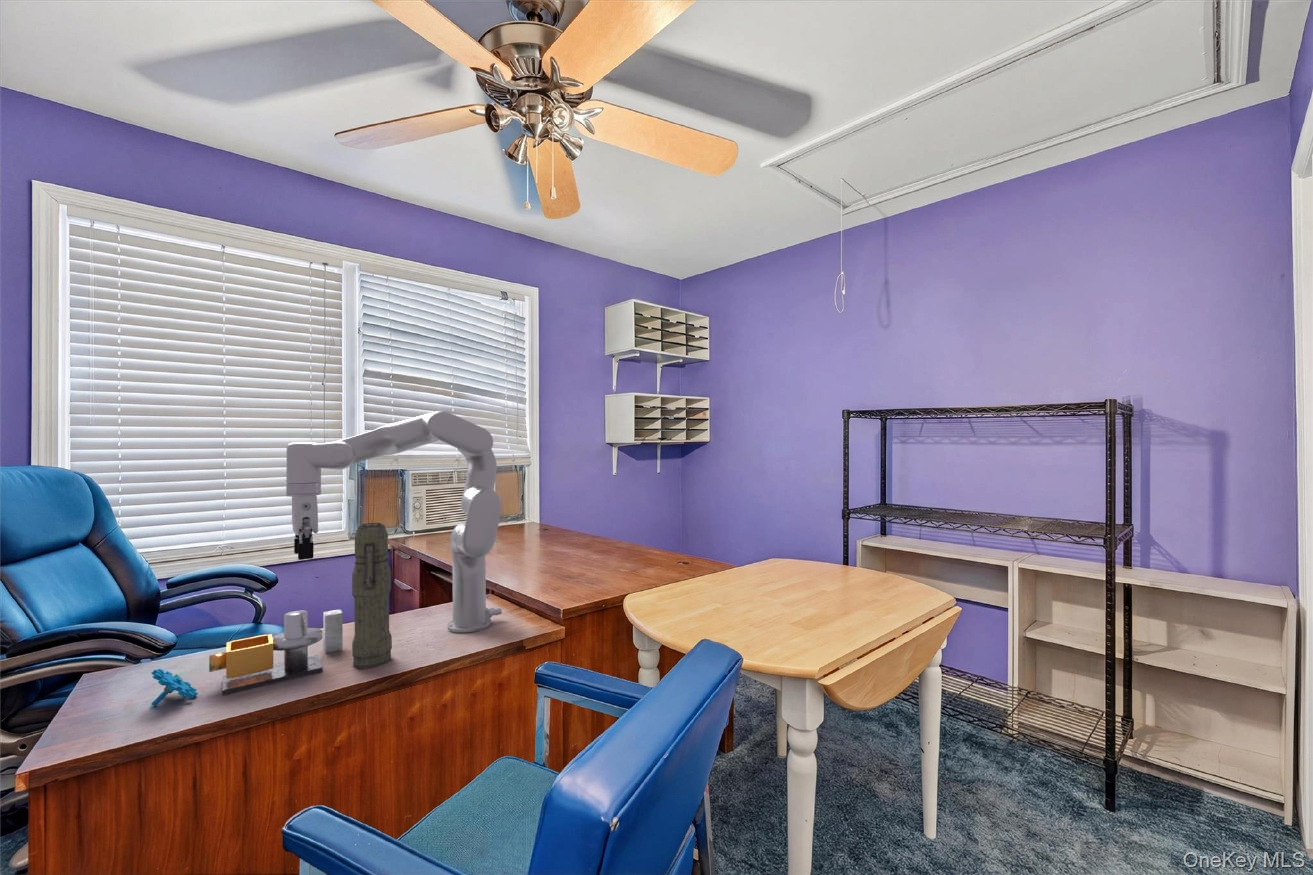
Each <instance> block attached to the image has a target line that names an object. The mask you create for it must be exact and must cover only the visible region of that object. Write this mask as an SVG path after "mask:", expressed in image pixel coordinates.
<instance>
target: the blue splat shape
mask: <svg viewBox="0 0 1313 875" xmlns="http://www.w3.org/2000/svg"><path fill="white" fill-rule="evenodd" d="M150 673H151V675H152V678H153V679H154V680H157V683H158V684H159V685H160V686H165V687H164V688H163V691H162V692H161V693H160V694H159V695H158V697H156V698H155V699H154V700H153V701H152V703H150V705H151V706H153V707H157V705H159V703H160V702H161V701H163V699H165V698H166V697H167V696H168V695H169V694H172V693H173V692H174V691H176V692H177V695H179V696H181V697H184V696H185V697H187V698H188V699H193V698H196V697H197V695H198V694H199V692H197V688H195V687H193V686H192V684H191V683H190V682H188V681H184V679H183V678H182V677H181V675H180V674H177V673H176V674H174V676H173V673H172V672H171V671H168V670H167V671H166V672H165V670H164V669H162V668H158V669H154V670H153V671H152V672H150Z"/></svg>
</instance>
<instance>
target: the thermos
mask: <svg viewBox="0 0 1313 875" xmlns="http://www.w3.org/2000/svg"><path fill="white" fill-rule="evenodd" d="M388 554H389V534H388V531H387V528H386V525H385V524H382V523H380V522H370V523H363V524H361V525H358V526H357V529H356V532H355V535H354V557H355V561H354V567H353V570H352V574H351V582H352V583H351V586H352V587H351V588H352V590H351V593H352V597H353V600H354V602H353V604H354V636H353V639H352V646H351V647H352V648H351V652H352V657H353V661H352V667H354V668H356V669H371V668H376V667H379V666H383V665H385V664H387V663H389V662H391V660H392V645H393V641H392V640H393V638H392V636H393V635H392V633H391V630H390V593H391V591H392V569H391V567H390V564H389V558H388ZM388 661H389V662H388Z"/></svg>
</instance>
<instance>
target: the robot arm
mask: <svg viewBox="0 0 1313 875" xmlns="http://www.w3.org/2000/svg"><path fill="white" fill-rule="evenodd" d="M438 441H440V442H443V443H444V444H446V445H449V446H451V447H454V448H455V449H457V450H458V452H459V453H460V454H462V456H464V459H465V460H466V463H467V472H466V479H465V483H464V489H463V493H462V497H461V501H460V508H461V510H462V512H463V513H464V514H465V515H466V518H465V519H466V520H465V521H462V522H460V523H458V524H457V525H456V526H454V528H453V530H452V531H451V534H450V541H449V543H450V552H451V562H452V563H451V565H452V620H451V621H450V622H448V623H447V626H446V628H447V630H448V631H449V632H453V633H465V634H466V633H473V632H477V631H478V632H479V631H481V630H484V629H487V628H488V627H490V626H491V625H492V617H493V616H500V615H502V612H503V610H502V608H501V607H499V608H494V607H492V608H488V607H487V598H486V597H487V596H486V593H487V592H486V591H487V590H486V583H487V582H486V577H487V576H486V574H487V573H486V572H487V571H486V570H487V568H486V556H487V555H488V554H489V553H490V552H491V551H492V550H493V547H494V544H495V542H496V539H497V533H498V529H499V523H500V518H501V513H502V500H501V497H500V495H499V494H498V493H497V492H496V491H495V489H494V488H495V485H496V479H497V478H496V476H497V472H498V471H497V470H498V468H497V467H498V466H497V459H496V456H495V454H494V451H493V450H492V449H493V446H494V439H493V436H492V434H491V432H490V431H488V430H487V429H485V428H483V427H481V426H480V425H478V424H475V423H473V422H471V421H469V420H466V419H464V418H462V417H460V416H458V415H456V414H453V413H451V412H448V411H445V410H436V411H433V412H429V413H428V412H427V413H425V414H421V415H418V416H414V417H411V418H408V419H403V420H400V421H396V422H392V423H388V424H386V425H383V426H379V427H378V428H376V429H373V430H370V431H366V432H364V433H361V434H360V433H359V434H357V435H354V436H353V435H352V436H350V437H347V438H346V437H345V438H343V439H339V440H335V441H330V442H323V443H322V442H321V443H318V442H310V441H309V442H307V441H303V442H302V441H299V442H298V441H297V442H290V443H288V444H287V447H286V477H285V478H286V479H285V481H286V483H285V484H286V486H285V488H286V490H285V492H286V494H285V495H286V496H285V497H290V498H291V523H292V524H291V525H292V531H293V533H294V540H293V542H294V543H293V550H294V551H293V553H294V555H295V554H296V555H297V559H298V560H299V561H301V560H302V561H303V560H309V559H311V560H312V559H313V558H314V539H313V533H314V534H318V533H319V514H318V513H319V510H318V508H319V507H318V496H320V495H322V469H328V470H335V471H336V470H339V471H340V470H345V469H347V468H349V467H350V466H352V465H355V464H357V463H361V462H363V461H366V460H370V459H374V458H378V457H384V456H385V457H386V456H392V455H396V454H400V453H403V452H407V451H409V450H413V449H416V448H419V447H422V446H426V445H428V444H432V443H435V442H438Z"/></svg>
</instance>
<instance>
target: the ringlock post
mask: <svg viewBox="0 0 1313 875" xmlns="http://www.w3.org/2000/svg"><path fill="white" fill-rule="evenodd" d="M308 615H309V614H308V611H307V610H301V609H300V610H294V611H289V612H286V613H284V615H283V632H281V633H278V634H275V635H273V634H272V633H270V634H262V635H257V636H253V637H252V636H251V637H246V638H241V639H236V640H231V641H228V642H227V641H226V649H225V650H226V651H225V652H221V653H216V654H211V655H208V656H209V658H208V659H209V663H208V667H209V668H208V669H209V671H208V672H209V673H211V672H216V671H217V672H218V671H222V670H225V674H224V675H222V688H221V690H222V691H221V692H222V693H221V695H222V696H225V695H230V694H233V693H238V692H242V691H246V690H250V689H254V688H258V687H263V686H267V685H271V684H277V683H280V682H284V681H288V680H292V679H296V678H300V677H304V676H305V677H306V676H308V675H309V674H310V675H314V674H319V673H322V672H323V671H324V670H323V669H324V668H323V665H322V662H321V660H320V658H319V655H318V654H317V655H316V654H315V655H311V656H309V650H308V649H309V648H308V647H310V646H311V645H314V644H316V643H318V642H320V641H321V640H323V629H321V628H319V627H318V628H315V627H308V626H309V625H308V624H309V622H308V619H309V618H308ZM274 651H278V652H279V651H280V652H282V651H284V652H283V654H284V655H283V660H284V661H283V662H280V663H274Z"/></svg>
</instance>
